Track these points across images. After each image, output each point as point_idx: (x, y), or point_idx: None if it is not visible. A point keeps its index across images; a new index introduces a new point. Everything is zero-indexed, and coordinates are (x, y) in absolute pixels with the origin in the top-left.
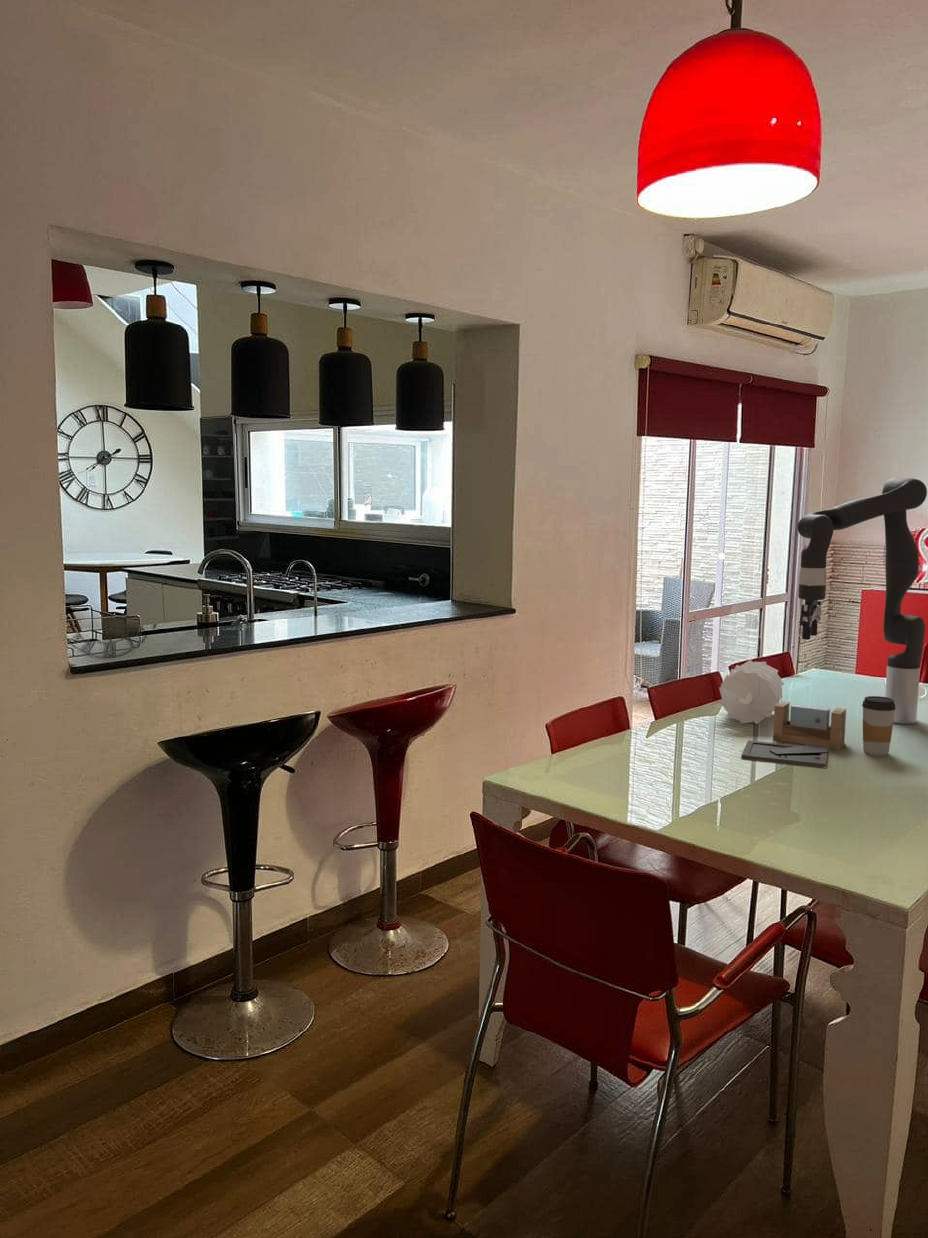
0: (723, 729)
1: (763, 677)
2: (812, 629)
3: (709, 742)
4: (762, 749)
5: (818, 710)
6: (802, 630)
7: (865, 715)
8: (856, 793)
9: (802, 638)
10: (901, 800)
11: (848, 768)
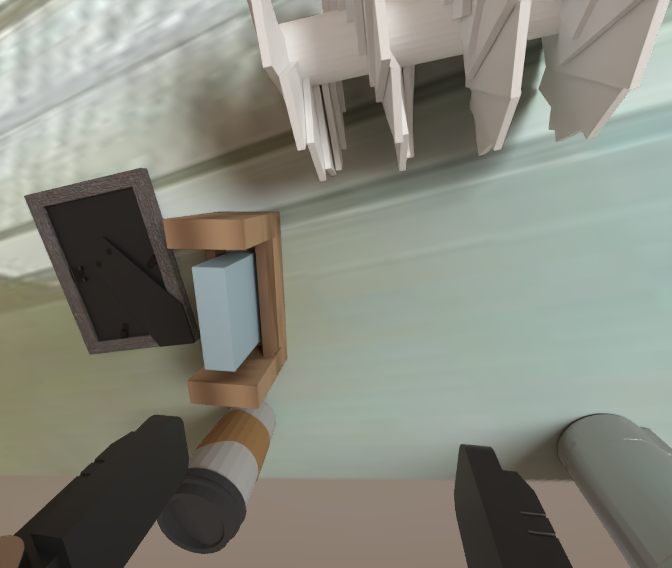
0: (238, 50)
1: (389, 76)
2: (474, 535)
3: (92, 74)
4: (106, 220)
5: (203, 345)
6: (82, 483)
7: (189, 459)
8: (11, 406)
9: (156, 416)
10: (30, 457)
11: (121, 384)
